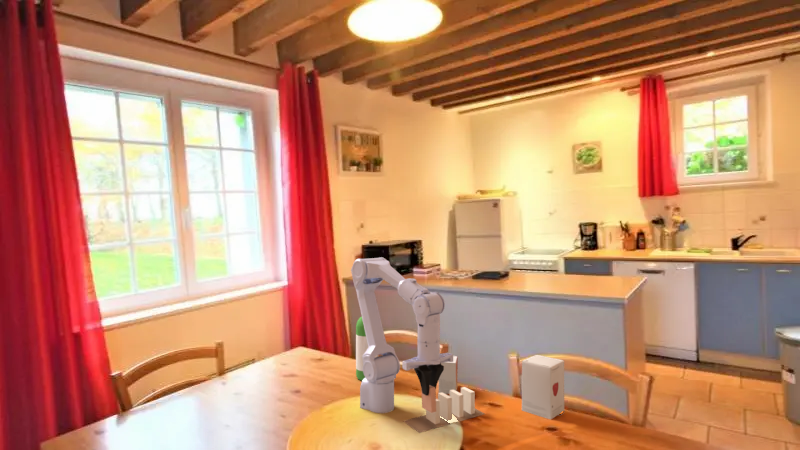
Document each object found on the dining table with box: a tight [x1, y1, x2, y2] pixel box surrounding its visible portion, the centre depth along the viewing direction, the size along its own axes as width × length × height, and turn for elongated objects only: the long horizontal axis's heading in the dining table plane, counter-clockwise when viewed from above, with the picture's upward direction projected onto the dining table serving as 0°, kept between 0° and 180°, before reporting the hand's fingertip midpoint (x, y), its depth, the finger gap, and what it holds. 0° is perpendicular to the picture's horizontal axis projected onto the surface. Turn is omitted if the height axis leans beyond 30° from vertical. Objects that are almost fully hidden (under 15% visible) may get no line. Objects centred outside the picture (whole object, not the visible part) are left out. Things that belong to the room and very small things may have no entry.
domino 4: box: [449, 390, 463, 418], centre depth 122 cm, size 1×4×6 cm, turn 30°
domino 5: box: [460, 386, 476, 414], centre depth 124 cm, size 1×4×6 cm, turn 31°
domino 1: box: [420, 385, 437, 413], centre depth 113 cm, size 1×4×6 cm, turn 30°
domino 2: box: [425, 398, 440, 424], centre depth 118 cm, size 1×4×6 cm, turn 31°
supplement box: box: [521, 354, 565, 420], centre depth 125 cm, size 9×9×15 cm
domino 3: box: [437, 392, 452, 421], centre depth 120 cm, size 1×4×6 cm, turn 30°
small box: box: [438, 355, 459, 395], centre depth 141 cm, size 8×6×10 cm
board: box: [402, 408, 486, 434], centre depth 120 cm, size 22×8×1 cm, turn 121°
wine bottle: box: [355, 315, 379, 382], centre depth 154 cm, size 8×8×30 cm
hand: (428, 393), depth 113 cm, fingers closed on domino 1, 1 cm apart
